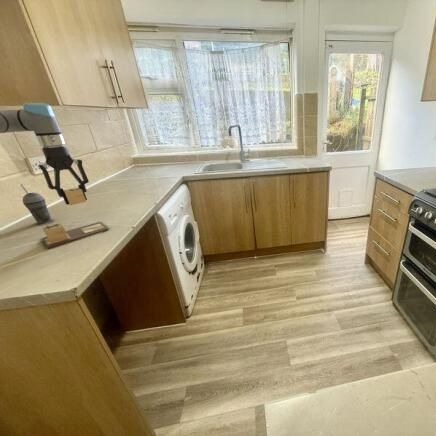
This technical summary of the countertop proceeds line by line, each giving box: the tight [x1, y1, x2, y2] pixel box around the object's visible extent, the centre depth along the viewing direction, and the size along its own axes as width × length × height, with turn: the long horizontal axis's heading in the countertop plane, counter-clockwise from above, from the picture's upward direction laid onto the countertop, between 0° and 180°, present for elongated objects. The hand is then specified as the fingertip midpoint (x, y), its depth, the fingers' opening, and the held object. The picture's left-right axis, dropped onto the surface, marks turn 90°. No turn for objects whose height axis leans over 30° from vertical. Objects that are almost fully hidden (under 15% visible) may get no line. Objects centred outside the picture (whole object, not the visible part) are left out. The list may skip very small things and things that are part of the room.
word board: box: [42, 221, 109, 250], centre depth 104 cm, size 12×20×1 cm, turn 141°
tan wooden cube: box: [63, 187, 87, 206], centre depth 104 cm, size 6×6×6 cm
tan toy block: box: [41, 222, 68, 243], centre depth 99 cm, size 6×6×6 cm
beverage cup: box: [20, 183, 52, 225], centre depth 112 cm, size 7×7×20 cm
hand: (76, 201), depth 105 cm, fingers closed on tan wooden cube, 5 cm apart
